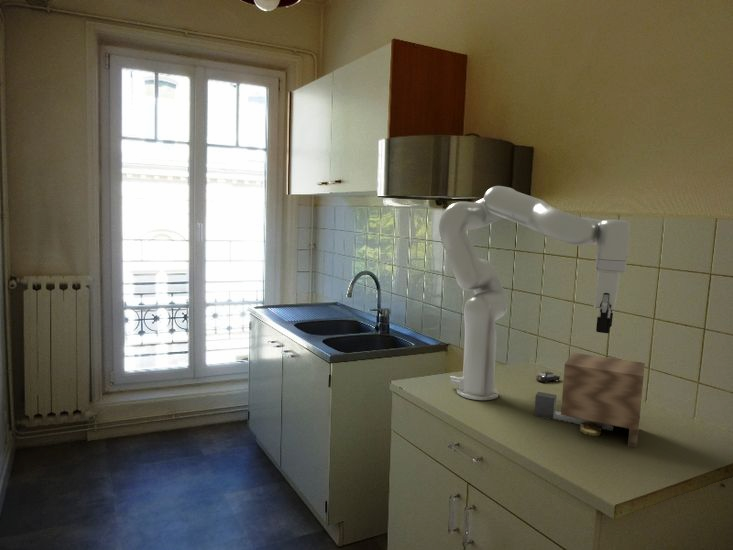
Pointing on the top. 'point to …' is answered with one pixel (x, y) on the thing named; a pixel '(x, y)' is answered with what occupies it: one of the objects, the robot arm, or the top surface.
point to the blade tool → (547, 406)
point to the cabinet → (604, 391)
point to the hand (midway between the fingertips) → (603, 329)
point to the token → (590, 428)
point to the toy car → (547, 376)
